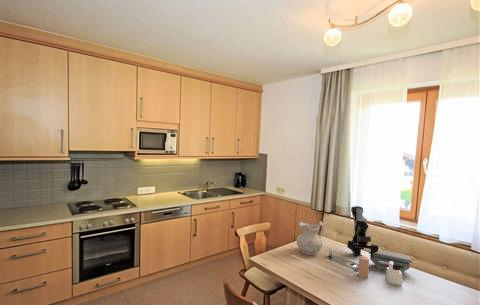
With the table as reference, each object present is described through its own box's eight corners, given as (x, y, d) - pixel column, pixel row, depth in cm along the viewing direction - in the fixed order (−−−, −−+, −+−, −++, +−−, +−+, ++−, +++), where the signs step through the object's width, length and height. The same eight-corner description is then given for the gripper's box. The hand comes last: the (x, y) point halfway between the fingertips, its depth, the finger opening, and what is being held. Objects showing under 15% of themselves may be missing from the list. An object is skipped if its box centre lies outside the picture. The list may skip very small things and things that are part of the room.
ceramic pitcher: (311, 247, 204) (310, 217, 206) (330, 255, 188) (329, 222, 189) (291, 252, 193) (291, 220, 195) (310, 260, 177) (309, 225, 178)
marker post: (358, 273, 162) (359, 255, 162) (366, 275, 160) (367, 257, 160) (359, 277, 157) (360, 258, 157) (368, 278, 156) (369, 260, 155)
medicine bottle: (398, 280, 156) (399, 261, 156) (401, 285, 149) (403, 266, 149) (385, 277, 158) (386, 259, 158) (388, 283, 152) (389, 264, 151)
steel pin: (329, 255, 186) (330, 247, 185) (332, 257, 184) (333, 248, 184) (328, 256, 184) (328, 248, 184) (331, 257, 182) (331, 249, 182)
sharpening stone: (409, 271, 168) (410, 256, 168) (411, 276, 161) (412, 260, 161) (368, 262, 179) (369, 247, 179) (368, 266, 172) (369, 251, 172)
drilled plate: (332, 255, 189) (332, 253, 189) (363, 266, 172) (363, 265, 172) (324, 259, 181) (324, 257, 181) (356, 271, 164) (356, 270, 164)
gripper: (348, 228, 169) (349, 250, 159) (378, 233, 163) (381, 256, 153) (346, 236, 177) (347, 257, 167) (375, 240, 171) (378, 263, 161)
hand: (363, 258), depth 162 cm, fingers open, 9 cm apart
